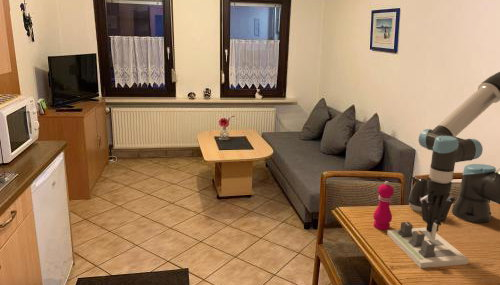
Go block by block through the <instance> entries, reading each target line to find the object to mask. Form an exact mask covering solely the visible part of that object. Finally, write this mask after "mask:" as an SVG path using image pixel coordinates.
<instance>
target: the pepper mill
mask: <svg viewBox="0 0 500 285" xmlns="http://www.w3.org/2000/svg"><path fill="white" fill-rule="evenodd" d="M394 192H395V191H394V188H393V186H392V185H391V184H390V181H388V180H385V181H384V183H383V184H380V185H379V186H378V188H377V193H378V200H379V202H378V205H377V207H376V209H375V211H374V212H373V216H372V217H373V219H374V220H373V227H374V228H376V230H379V229H380V231H387V230H390V228H391V227H390V224H391V222H392V219H393V216H392V214H393V213H392V212H391V208H390V204H391V202H392V199H393V198H392V196H393V195H394Z"/></svg>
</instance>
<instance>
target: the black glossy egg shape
mask: <svg viewBox="0 0 500 285" xmlns="http://www.w3.org/2000/svg"><path fill="white" fill-rule="evenodd" d="M411 179H412V181H414V184H413V186H412V187H411V189H410V192H409V195H408V199H407V201H408V205H409V207H410V208H411V209H412V210H413V211H414V212H417V213H422V208H421V202H420V200H419V198H420V197H422V198H423V197H425V196H426V193H427V191H428V188H427V186H428V179H427V178H425V177H421V178H418V179H417V178H415V176H412V177H411ZM427 204H428V210H429V200H428V203H427Z"/></svg>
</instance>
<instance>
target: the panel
mask: <svg viewBox="0 0 500 285" xmlns="http://www.w3.org/2000/svg"><path fill="white" fill-rule="evenodd" d="M426 228H427V226H425V227H412V234H413V231H422V232H423V233H424V234H425V237H424V241H429V239H428V238H427V232H428V231H427V230H426ZM400 229H401V228H399V229H396V228H395V229H388V230H386V231H387V232H386V233H387V234H386V235H387V236H388V237H389V238H390V239H391V240H392V241H393V242H394V243H395V244H396V246H397V247H399V248H400V249H401V251H403V252H404V253H405V254H406V255H407V256H408V257H409V258H410V259H411V261H413V262H414V263H415V264H416V265H417V266H418V267H419V269H424V268H436V267H449V266H461V265H468V264H469V258H468V256H466V255H464V254H463V253H462V252H460V251H459V250H458V249H457V248H456V247H455V246H454V245H452V244H451V243H449V242H448V241H447V240H446V239H445V238H444V237H442V236H440V235H439V233H437V232H436V236H435V241H432V242H433V243H434V244H435V248H434V253H435V254H436V255H435V256H431V257H423V256H422V255H421V254H420V253H419V250H421V247H422V246H413V245H412V244H411V243H410V242H409V241H410V240H412V236H407V237H402V236H401V235H400V234H399V233H398V231H400Z"/></svg>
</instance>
